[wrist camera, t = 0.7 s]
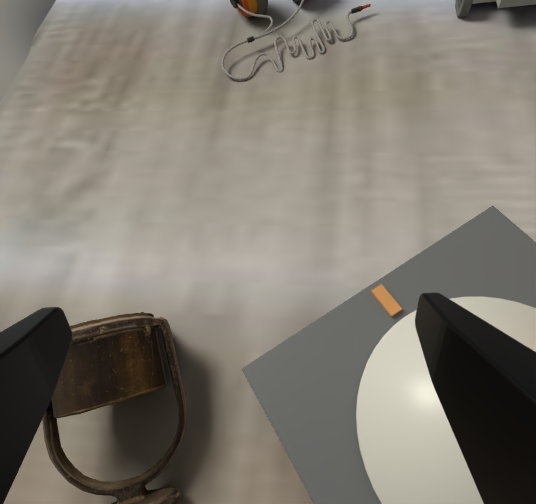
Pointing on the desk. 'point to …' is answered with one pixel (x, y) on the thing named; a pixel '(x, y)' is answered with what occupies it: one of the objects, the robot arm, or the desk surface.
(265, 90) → the desk surface
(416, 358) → the dial
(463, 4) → the toy car
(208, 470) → the desk surface
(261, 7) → the headphones
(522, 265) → the dial board
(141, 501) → the brown curved looped piece
